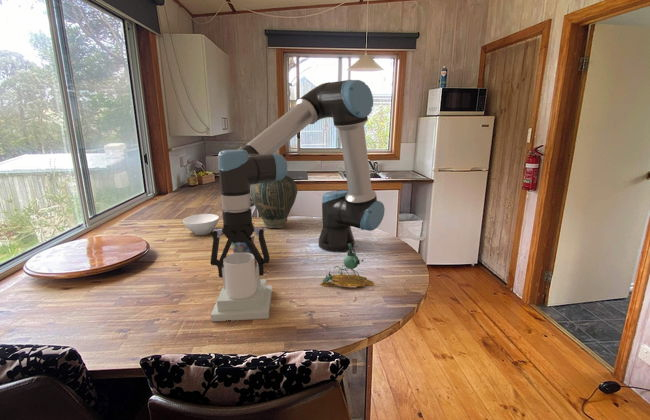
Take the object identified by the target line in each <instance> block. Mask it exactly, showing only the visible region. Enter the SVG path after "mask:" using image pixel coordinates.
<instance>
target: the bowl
mask: <svg viewBox="0 0 650 420" xmlns="http://www.w3.org/2000/svg"><path fill="white" fill-rule="evenodd" d="M219 221H220V216H219V215H217V214H215V213H214V214H213V213H199V214H193V215H190V216H189V215H188V216H187V217H184V218H183V220H182V223H183V225H184V226H185V227H186V228H187V229H188V230H189V231H191V232H192V233H193V234H194V235H195V236H205V235H209V234H212V232H213V230H214V229H215V227H216V226H217V224H218V223H219Z"/></svg>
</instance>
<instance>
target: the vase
mask: <svg viewBox="0 0 650 420" xmlns="http://www.w3.org/2000/svg"><path fill="white" fill-rule="evenodd" d="M297 195H298V186H297V184H296V181H295V180H294V179H293V178H292V177H291V176H288V175H286V176H285V177H284V178H283V179H281V180H277V181H275V182H273V181H272V182H265V183H258V184H252V185H250V197H251V202H252V203H253V205H254V207H255V209H256V210H257V212H258V213H259V216H260V217H261V219H262V221H263V222H262V223H263V225H264V228H267V229H269V228H270V229H284V228H286V227H287V224H286V223H287V221H288V217H289V214H290V213H291V210H292V208H293V207H294V204H295V202H296V198H297Z"/></svg>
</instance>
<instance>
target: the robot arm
mask: <svg viewBox="0 0 650 420" xmlns="http://www.w3.org/2000/svg"><path fill="white" fill-rule="evenodd" d="M373 107H374V96H373V93H372V91H371V88H370V87H369V85H367V84H366V82H365V81H363V80H361V79H346V80H338V81H332V82H330V81H329V82H324V83H323V82H322V83H321V84H319V85H317V86H315V87H314V88H312V89H310V90H309V91H308V92H306V93H305V94H304V95H303V96H301V97H300V98H298V99H297V100H296V101H295V105H294V106H293V107H292V108H291V109H290V110H288V111H287V112H286V113H284V114H283V115H282V116H280V117H279V118H278V119H276V120H275V122H273V123H272V124H270V125H269V126H268V127H267V128H266V129H264V130H263V131H262V132H260V133H259V134H258V135H257V136H255V137H254V138H253V139H251V140H250V141H249V142H248V143H246V144H245V145H243V146H242V147H241V148H239V149H223V150H221V151H219V153H218V154H217V156H218V157H217V166H218V167H217V170H218V175H219V176H218V178H219V188H220V199H221V200H220V201H221V209H222V222H223V225H222V228H219V229H218V228H217V227H216V228H215V227H214V228H213V230H212V231H211V236H212V247H211V248H212V249H211V255H210V262H209V263H210V265H211V266H216V267H217V271H218V277H219V278H222V288H223V287H224V289H226V284H225V273H224V262H223V260H224V258H225V257H226V256H228V252H229V251H230V249H231V246H232V242H233V243H238V242H240V243H246V245H247V246H248V247H249V249H250V251H251V253H252V254H253V256H254V257H255V262H256V263H255V269H256V279H257V288H260V285H261V279H262V278H261V276H264V274H265V267H264V266H265V265H266V264H270V259H271V257H270V253H269V250H268V246H267V243H266V239H265V227H263V226H260V228H259V227H255V226H254V224H253V213H252V209H251V207H252V198H251V186H252V184H258V183H265V182H272V181H273V182H275V181H277V180H281V179H283V178H284V177H285V176H287V174H288V163H287V160H286V158H285V157H284V155H282V154H279V153H278V154H276V153H277V151H279V150H280V149H281V148H282V147H283V146H285V145H286V144H287V143H288V142H290V141H291V140H292V139H293V138H294V137H296V136H297V135H298V134H299V133H300V132H301V131H303V130H304V129H305V128H306V127H307V126H309V125H315V124H316V123H317V122H318V121H320V120H323V119H326V118H332V121H333V122H332V123H333V126H334V127H335V128H337V129H338V131H339V137H340V144H341V152H342V157H343V158H342V159H343V164H344V170H345V171H344V172H345V178H346V179H345V180H346V185H347V190H346V189H345V190H342V189H341V190H332V191H328V192H325V193H323V194H322V201H321V210H322V211H321V212H322V213H321V215H322V216H321V217H322V229H321V232H320V235H319V238H318V247H319V248H320V249H322V250H324V251H328V252H346V251H349V246H348V244H349V243H350V244H351V245H352V249H353V248H354V247H355V238H354V235H353V232H352V228H351V227H354V228H357V229H360V230H362V231H368V232H369V231H370V232H371V231H374V230H376V229H377V228H378V227H379V226H380V225H381V223H382V221H383V220H384V217H385V211H386V210H385V208H386V207H385V205H384V203H383V202H382V201H380V200H378V197H377V192H376V191H375V190H373V188H372V182H371V173H370V166H369V165H370V164H369V158H368V157H369V156H368V155H369V154H368V147H367V139H366V133H365V125H366V123H367V122H368V119H369V118H368V117H369V115H370V114H371V113H372V111H373V109H372V108H373ZM252 233H254V234H255V235H256V236H257V237H258V241H259V245H260V249H261V253H262V254H261V253H260V251H259V250H258V249H259V248H257V246H256V244H255V243H254V242H253V240H252V238H251V235H252ZM222 235H224V236H225V237H226V239H227V241H226V243H225V246H224V248H223V249H222V250H223V251H222V253H221V256H220V257H219V259H218V254H219V246H220V238H221V237H222Z"/></svg>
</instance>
